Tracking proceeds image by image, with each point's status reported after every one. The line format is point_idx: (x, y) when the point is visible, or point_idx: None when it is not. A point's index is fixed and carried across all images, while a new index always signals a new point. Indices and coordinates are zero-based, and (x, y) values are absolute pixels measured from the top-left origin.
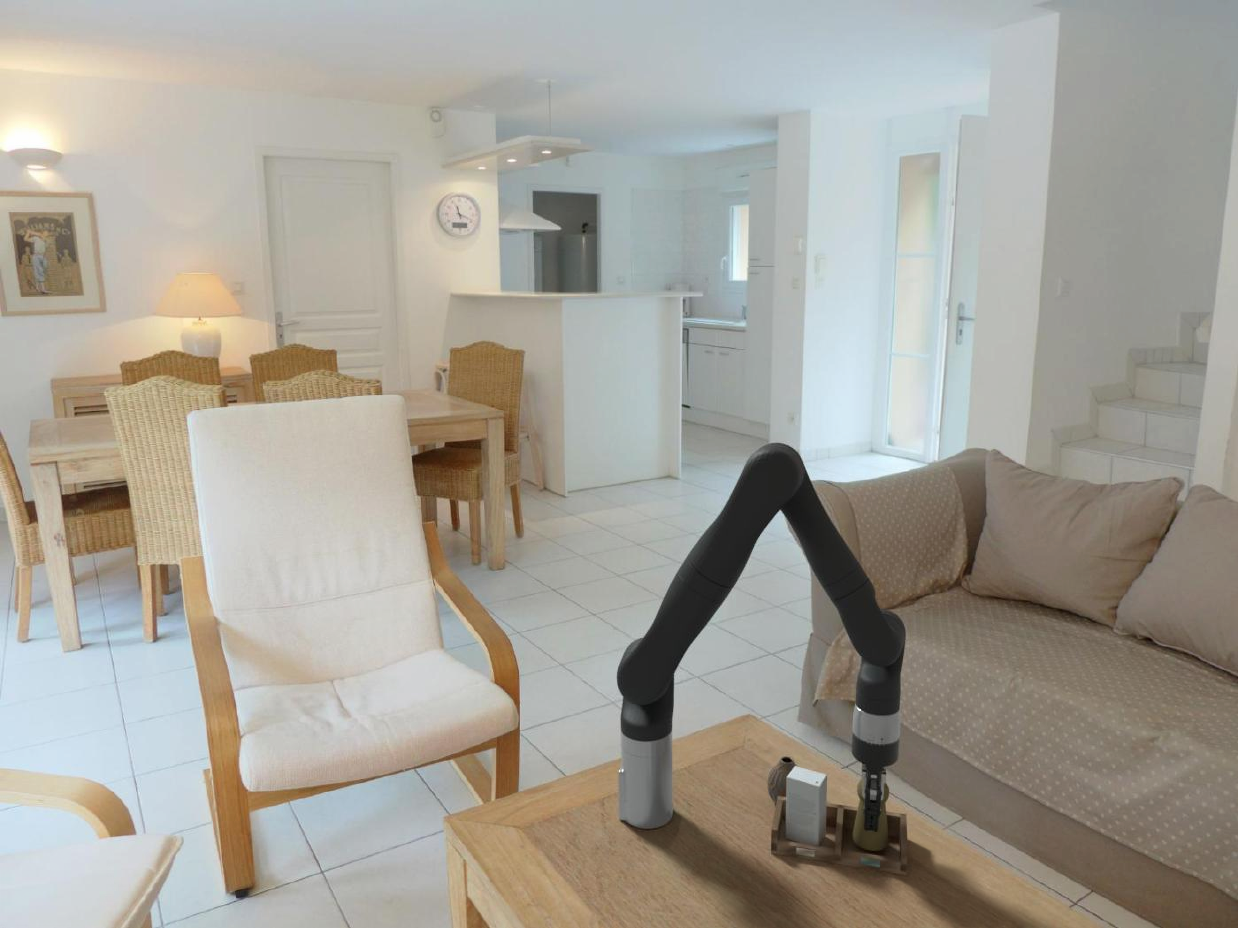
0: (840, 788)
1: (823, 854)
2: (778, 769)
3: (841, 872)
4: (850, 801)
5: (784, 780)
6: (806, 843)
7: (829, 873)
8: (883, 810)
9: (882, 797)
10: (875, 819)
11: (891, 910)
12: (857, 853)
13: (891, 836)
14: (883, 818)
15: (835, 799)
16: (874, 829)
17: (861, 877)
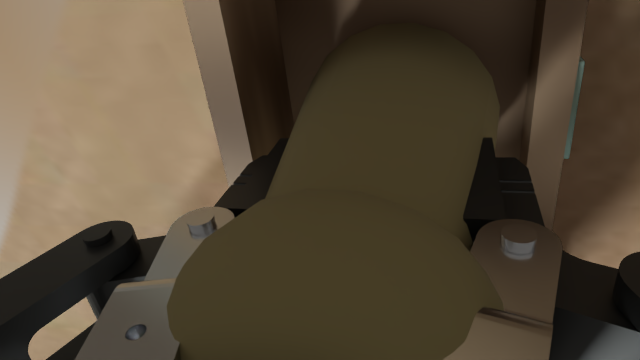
0: (67, 209)
1: None
2: None
3: (600, 207)
4: (116, 177)
5: None
6: None
7: (613, 250)
8: (420, 168)
9: (548, 347)
10: (539, 216)
11: None
12: (536, 177)
13: (279, 4)
14: (435, 132)
15: (134, 224)
16: (523, 169)
17: (633, 126)
